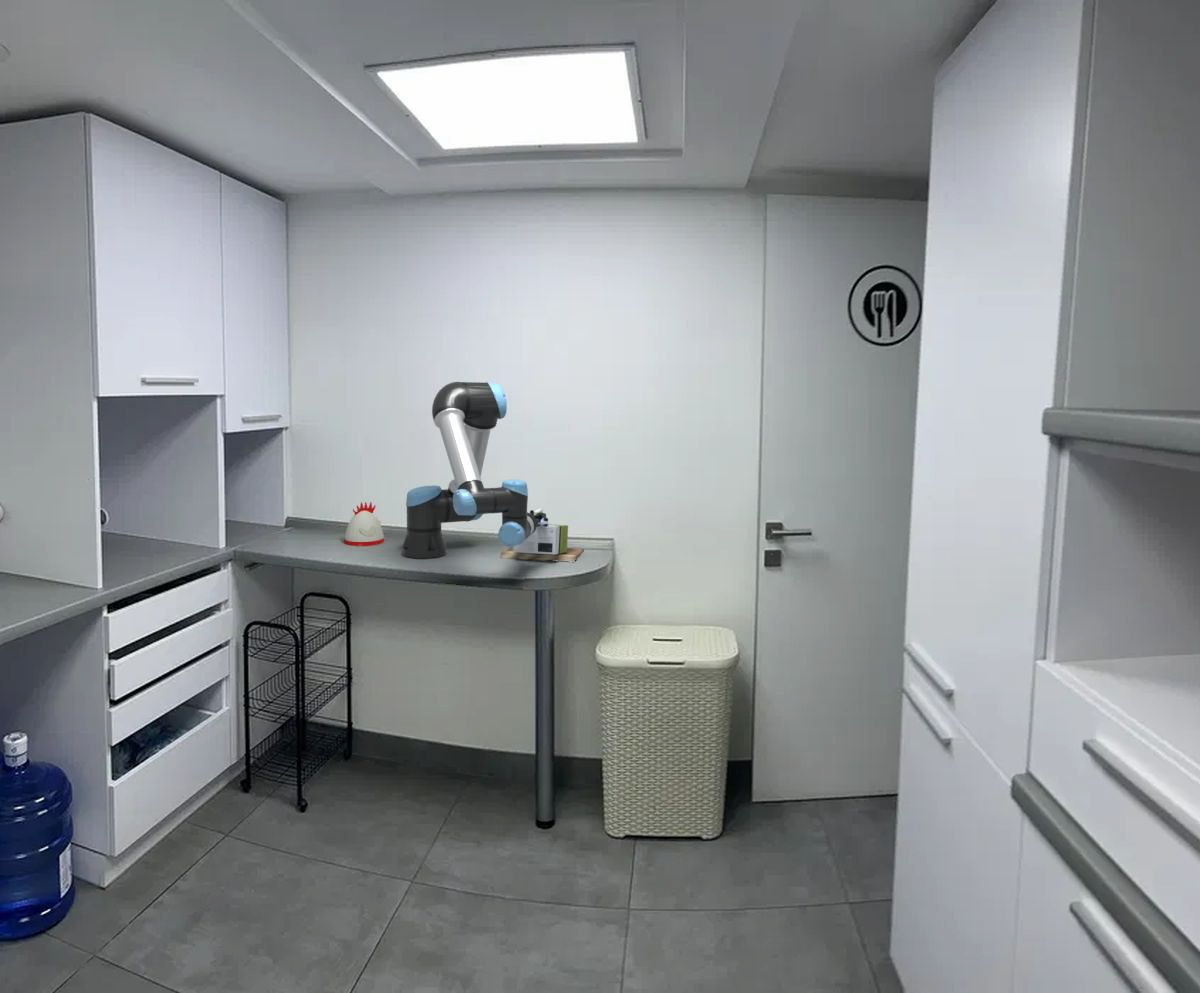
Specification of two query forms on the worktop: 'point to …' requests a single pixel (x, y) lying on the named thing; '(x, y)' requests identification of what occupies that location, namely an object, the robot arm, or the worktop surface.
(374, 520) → the kitchen timer
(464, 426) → the robot arm
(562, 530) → the tea box
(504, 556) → the tan flat board
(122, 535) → the worktop surface
